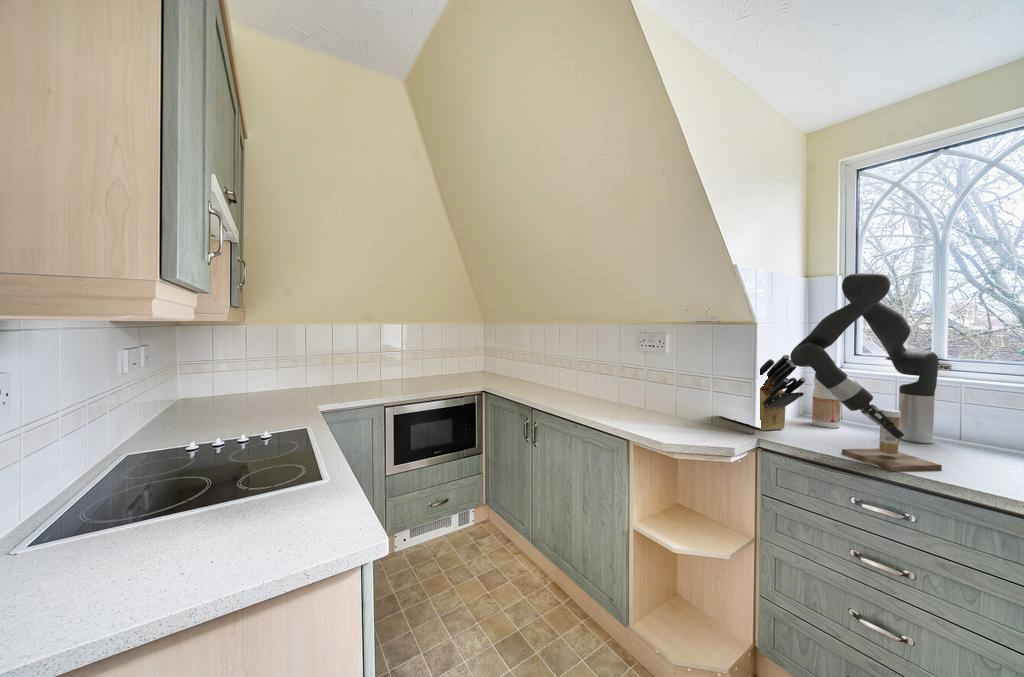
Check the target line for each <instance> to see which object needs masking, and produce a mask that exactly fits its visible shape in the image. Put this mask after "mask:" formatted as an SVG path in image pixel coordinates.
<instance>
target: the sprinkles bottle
mask: <svg viewBox="0 0 1024 677" xmlns="http://www.w3.org/2000/svg"><path fill="white" fill-rule="evenodd" d="M880 411H881V412H882V413H883V414H885V415H886V416H887V417H888V419H889V420H890V421H891V422H893V423H894V426H895V427H896V428H897V429H899V419H900V415H901V414H900V411H899V409H898V410H897V409H892V408H881V409H880ZM887 423H888V422H887V421H886V422H885V423H883V424H884V425H886V424H887ZM899 444H900V438H899V439H897V438H895V437H894V436H893V435H892V434H891V433H890V432H889V431H887V430H886V429H884V427H882V426H881V425H880V426H879V447H878V448H879V451H881V452H883V453H887V454H894V455H895V454H898V453H899V452H900V451H899Z"/></svg>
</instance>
